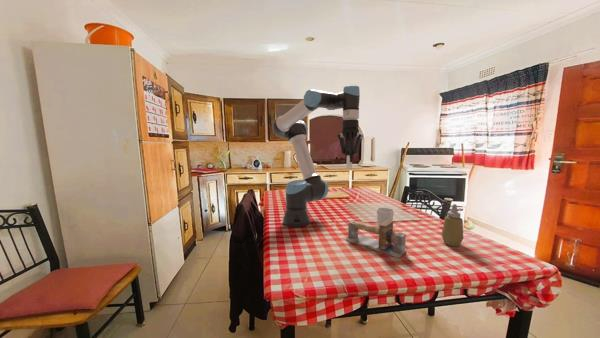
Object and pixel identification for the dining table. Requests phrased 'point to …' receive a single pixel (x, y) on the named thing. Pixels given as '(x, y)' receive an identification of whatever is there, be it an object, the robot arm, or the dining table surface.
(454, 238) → the squeeze bottle
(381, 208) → the cup
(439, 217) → the dining table surface
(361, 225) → the rail
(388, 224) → the collar
